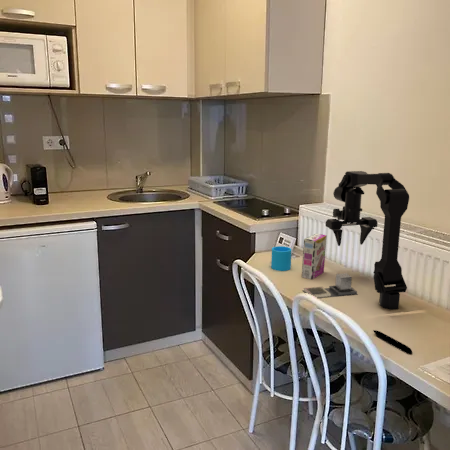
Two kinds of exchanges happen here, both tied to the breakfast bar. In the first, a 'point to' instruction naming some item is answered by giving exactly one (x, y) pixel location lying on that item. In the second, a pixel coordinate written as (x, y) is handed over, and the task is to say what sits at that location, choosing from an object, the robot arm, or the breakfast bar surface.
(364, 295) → the breakfast bar surface
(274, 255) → the mug
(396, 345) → the pen
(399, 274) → the robot arm
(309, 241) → the candy bar box
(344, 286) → the block
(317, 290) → the dark grey double tray
